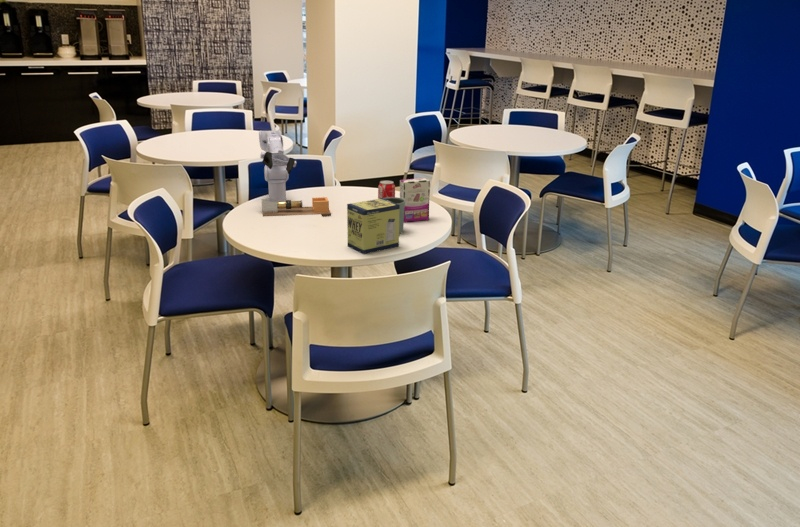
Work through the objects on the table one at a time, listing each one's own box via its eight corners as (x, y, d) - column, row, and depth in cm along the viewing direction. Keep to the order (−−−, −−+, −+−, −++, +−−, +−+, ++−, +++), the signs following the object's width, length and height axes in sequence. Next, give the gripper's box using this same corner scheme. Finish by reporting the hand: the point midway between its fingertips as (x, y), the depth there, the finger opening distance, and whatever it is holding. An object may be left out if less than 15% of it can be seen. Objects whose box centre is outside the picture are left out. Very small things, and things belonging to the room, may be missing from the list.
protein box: (346, 246, 239) (346, 203, 234) (382, 238, 248) (383, 197, 243) (363, 254, 231) (363, 210, 226) (399, 246, 240) (400, 203, 235)
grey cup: (401, 235, 252) (402, 204, 248) (375, 233, 254) (375, 202, 250) (406, 228, 261) (407, 197, 257) (381, 226, 263) (381, 195, 259)
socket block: (312, 208, 281) (312, 197, 280) (327, 207, 282) (326, 197, 281) (314, 212, 275) (313, 201, 274) (328, 212, 276) (328, 201, 275)
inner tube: (262, 208, 275) (261, 200, 274) (301, 207, 278) (301, 198, 277) (262, 211, 272) (261, 202, 271) (302, 209, 275) (302, 200, 274)
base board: (261, 210, 280) (261, 208, 279) (327, 208, 285) (327, 206, 285) (262, 218, 269) (262, 216, 268) (331, 216, 274) (330, 213, 274)
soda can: (374, 209, 285) (374, 181, 281) (388, 206, 290) (388, 179, 285) (384, 213, 280) (384, 184, 276) (398, 210, 284) (398, 182, 280)
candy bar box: (424, 217, 276) (425, 177, 270) (429, 220, 272) (430, 180, 266) (398, 219, 272) (399, 179, 266) (403, 222, 268) (404, 182, 262)
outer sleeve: (262, 210, 276) (261, 199, 274) (277, 210, 277) (276, 198, 275) (262, 213, 272) (261, 202, 270) (277, 213, 273) (277, 201, 271)
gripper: (262, 140, 274) (265, 155, 263) (297, 149, 280) (301, 165, 269) (257, 155, 277) (260, 171, 266) (291, 164, 283) (295, 180, 272)
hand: (280, 169), depth 268 cm, fingers open, 7 cm apart
